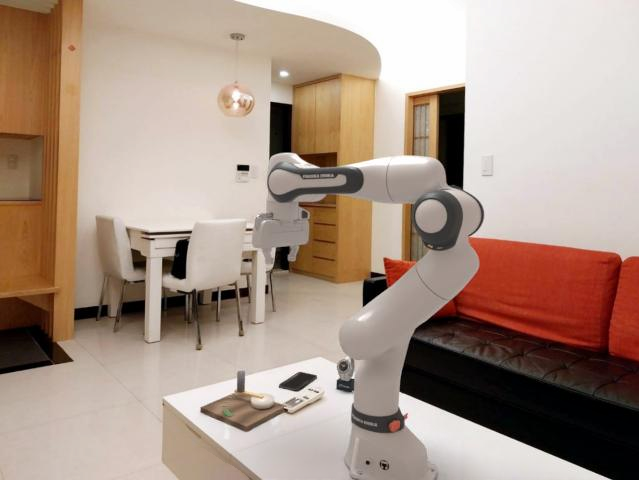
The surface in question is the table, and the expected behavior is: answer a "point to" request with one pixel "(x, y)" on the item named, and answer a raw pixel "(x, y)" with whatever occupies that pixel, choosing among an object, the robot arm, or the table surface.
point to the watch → (345, 374)
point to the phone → (298, 381)
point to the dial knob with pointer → (253, 394)
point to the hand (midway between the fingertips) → (280, 262)
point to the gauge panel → (240, 411)
